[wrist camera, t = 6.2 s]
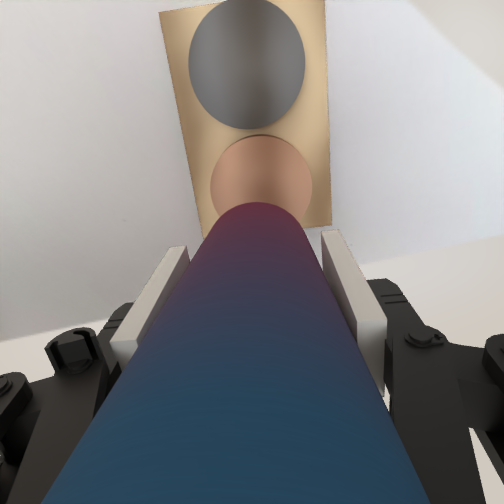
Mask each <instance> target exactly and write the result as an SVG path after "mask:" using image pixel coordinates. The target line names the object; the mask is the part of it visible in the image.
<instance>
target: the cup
mask: <svg viewBox="0 0 504 504" xmlns="http://www.w3.org/2000/svg"><path fill="white" fill-rule="evenodd" d="M41 504H431V503H430V501H429V499H428V497H427V495H426V492H425V490H424V488H423V486H422V484H421V482H420V480H419V477H418V475H417V473H416V471H415V469H414V467H413V465H412V462H411V460H410V458H409V456H408V454H407V452H406V450H405V448H404V445H403V443H402V441H401V439H400V437H399V435H398V433H397V430H396V428H395V426H394V422H393V420H392V418H391V415H390V413H389V411H388V409H387V407H386V405H385V403H384V400H383V398H382V396H381V394H380V392H379V390H378V388H377V386H376V383H375V381H374V379H373V377H372V375H371V373H370V371H369V369H368V366H367V364H366V362H365V360H364V358H363V356H362V354H361V351H360V349H359V347H358V345H357V343H356V341H355V339H354V337H353V334H352V332H351V330H350V328H349V326H348V324H347V322H346V320H345V317H344V315H343V313H342V311H341V309H340V307H339V305H338V302H337V300H336V298H335V296H334V294H333V292H332V290H331V288H330V285H329V283H328V281H327V279H326V277H325V275H324V273H323V271H322V268H321V266H320V264H319V262H318V260H317V258H316V256H315V253H314V251H313V249H312V247H311V245H310V243H309V241H308V239H307V236H306V234H305V232H304V230H303V228H302V227H301V225H300V223H299V222H298V221H297V220H296V218H295V217H294V216H293V215H291V214H290V213H289V212H288V211H286V210H285V209H283V208H281V207H279V206H277V205H273V204H270V203H264V202H250V203H244V204H241V205H238V206H235V207H233V208H231V209H230V210H228V211H226V212H225V213H224V214H223V215H222V216H220V217H219V219H218V220H217V221H216V222H215V224H214V225H213V227H212V228H211V230H210V232H209V233H208V235H207V236H206V238H205V240H204V241H203V243H202V244H201V246H200V248H199V249H198V251H197V252H196V254H195V256H194V257H193V259H192V261H191V262H190V264H189V265H188V267H187V269H186V270H185V272H184V273H183V275H182V277H181V278H180V280H179V281H178V283H177V285H176V286H175V288H174V290H173V291H172V293H171V294H170V296H169V298H168V299H167V301H166V302H165V304H164V306H163V307H162V309H161V310H160V312H159V314H158V315H157V317H156V319H155V320H154V322H153V323H152V325H151V327H150V328H149V330H148V331H147V333H146V335H145V336H144V338H143V339H142V341H141V343H140V344H139V346H138V348H137V349H136V351H135V352H134V354H133V356H132V357H131V359H130V360H129V362H128V364H127V365H126V367H125V368H124V370H123V372H122V373H121V375H120V377H119V378H118V380H117V381H116V383H115V385H114V386H113V388H112V389H111V391H110V393H109V394H108V396H107V397H106V399H105V401H104V402H103V404H102V406H101V407H100V409H99V410H98V412H97V414H96V415H95V417H94V418H93V420H92V422H91V423H90V425H89V426H88V428H87V430H86V431H85V433H84V435H83V436H82V438H81V439H80V441H79V443H78V444H77V446H76V447H75V449H74V451H73V452H72V454H71V455H70V457H69V459H68V460H67V462H66V464H65V465H64V467H63V468H62V470H61V472H60V473H59V475H58V476H57V478H56V480H55V481H54V483H53V484H52V486H51V488H50V489H49V491H48V493H47V494H46V496H45V497H44V499H43V501H42V502H41Z"/></svg>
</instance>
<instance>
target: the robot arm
mask: <svg viewBox="0 0 504 504" xmlns="http://www.w3.org/2000/svg"><path fill="white" fill-rule="evenodd" d="M321 243H322V264H323V273H324V275H325V277H326V279H327V281H328V283H329V285H330V288H331V290H332V292H333V294H334V296H335V298H336V300H337V302H338V305H339V307H340V309H341V311H342V313H343V315H344V317H345V320H346V322H347V324H348V326H349V328H350V330H351V332H352V334H353V337H354V339H355V341H356V343H357V345H358V347H359V349H360V351H361V354H362V356H363V358H364V360H365V362H366V364H367V366H368V369H369V371H370V373H371V375H372V377H373V379H374V381H375V383H376V386H377V388H378V390H379V392H380V394H381V396H382V397H384V392H385V391H384V390H385V384H386V387H387V389H388V392H389V394H390V405H389V413H390V415H391V418H392V420H393V422H394V426H395V428H396V430H397V433H398V435H399V437H400V439H401V441H402V443H403V445H404V448H405V450H406V452H407V454H408V456H409V458H410V460H411V462H412V465H413V467H414V469H415V471H416V473H417V475H418V477H419V480H420V482H421V484H422V486H423V488H424V490H425V492H426V495H427V497H428V499H429V501H430V503H431V504H486V501H485V497H484V493H483V488H482V484H481V480H480V475H479V471H478V467H477V462H476V458H475V454H474V449H473V445H472V441H471V436H470V432H469V428H473V429H474V431H475V433H476V434H477V436H478V438H479V440H480V442H481V444H482V445H483V447H484V449H485V451H486V453H487V455H488V457H489V458H490V460H491V462H492V464H493V466H494V468H495V469H496V471H497V473H498V475H499V477H500V478H501V480H502V482H503V484H504V334H499V335H493V336H491V337H490V338H488V339H487V340H486V344H485V348H478V347H471V346H464V345H458V344H453V343H450V342H448V340H447V338H446V336H445V335H444V334H442V333H441V332H440V331H439V330H437V329H434V328H432V327H430V326H426V325H425V324H424V323H423V322H422V320H421V319H420V317H419V316H418V314H417V313H416V312H415V310H414V309H413V307H412V306H411V304H410V303H409V302H408V300H407V299H406V297H405V296H404V295H403V293H402V292H401V290H400V288H399V287H398V286H397V285H396V284H395V283H393V282H391V281H390V280H388V279H386V278H385V279H374V280H366V279H365V277H364V275H363V274H362V272H361V270H360V268H359V266H358V264H357V263H356V261H355V259H354V257H353V255H352V253H351V251H350V250H349V248H348V246H347V244H346V242H345V240H344V239H343V237H342V235H341V233H340V231H339V230H330V231H321ZM189 264H190V260H189V255H188V251H187V246H177V247H170V248H169V249H168V251H167V253H166V254H165V256H164V257H163V259H162V260H161V262H160V263H159V265H158V267H157V268H156V270H155V271H154V273H153V274H152V276H151V278H150V279H149V281H148V282H147V284H146V285H145V287H144V289H143V290H142V292H141V293H140V295H139V296H138V298H137V299H136V301H135V302H133V303H125V304H124V305H122V306H121V307H120V308H118V309H117V310H116V311H114V313H113V314H112V316H111V317H110V319H109V320H108V322H107V323H106V324H105V326H104V327H103V329H102V330H101V331H100V333H99V334H98V336H96V334H95V331H94V330H92V329H91V328H85V327H82V328H75V329H72V330H69V331H66V332H64V333H62V334H60V335H58V336H56V337H55V338H54V339H53V340H51V341H50V342H49V343H48V344H47V346H46V347H45V348H44V349H45V351H46V353H47V355H48V357H49V360H50V362H51V364H52V366H53V368H54V370H55V374H54V376H52V377H49V378H46V379H42V380H39V381H35V382H32V383H29V382H28V380H27V378H26V376H25V375H24V374H22V373H21V372H11V373H8V374H3V375H0V455H1V456H0V504H41V502H42V501H43V499H44V497H45V496H46V494H47V493H48V491H49V489H50V488H51V486H52V484H53V483H54V481H55V480H56V478H57V476H58V475H59V473H60V472H61V470H62V468H63V467H64V465H65V464H66V462H67V460H68V459H69V457H70V455H71V454H72V452H73V451H74V449H75V447H76V446H77V444H78V443H79V441H80V439H81V438H82V436H83V435H84V433H85V431H86V430H87V428H88V426H89V425H90V423H91V422H92V420H93V418H94V417H95V415H96V414H97V412H98V410H99V409H100V407H101V406H102V404H103V402H104V401H105V399H106V397H107V396H108V394H109V393H110V391H111V389H112V388H113V386H114V385H115V383H116V381H117V380H118V378H119V377H120V375H121V373H122V372H123V370H124V368H125V367H126V365H127V364H128V362H129V360H130V359H131V357H132V356H133V354H134V352H135V351H136V349H137V348H138V346H139V344H140V343H141V341H142V339H143V338H144V336H145V335H146V333H147V331H148V330H149V328H150V327H151V325H152V323H153V322H154V320H155V319H156V317H157V315H158V314H159V312H160V310H161V309H162V307H163V306H164V304H165V302H166V301H167V299H168V298H169V296H170V294H171V293H172V291H173V290H174V288H175V286H176V285H177V283H178V281H179V280H180V278H181V277H182V275H183V273H184V272H185V270H186V269H187V267H188V265H189ZM468 427H469V428H468Z"/></svg>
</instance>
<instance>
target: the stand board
mask: <svg viewBox="0 0 504 504" xmlns="http://www.w3.org/2000/svg"><path fill="white" fill-rule="evenodd" d="M159 17H160V22H161V28H162V33H163V38H164V43H165V48H166V53H167V58H168V63H169V68H170V73H171V78H172V83H173V88H174V93H175V98H176V103H177V108H178V113H179V118H180V124H181V129H182V134H183V139H184V144H185V149H186V154H187V159H188V164H189V169H190V174H191V179H192V184H193V189H194V194H195V199H196V204H197V209H198V214H199V219H200V225H201V230H202V235H203V239H205V238H206V236H207V235H208V233H209V232H210V230H211V228H212V227H213V225H214V224H215V222H216V221H217V220H218V219H219V217H220V216H222V215H223V214H224V213H225V212H226V211H228V210H230V209H231V208H233V207H235V206H238V205H241V204H244V203H250V202H264V203H270V204H273V205H277V206H279V207H281V208H283V209H285V210H286V211H288V212H289V213H290V214H291V215H293V216H294V217H295V218H296V220H297V221H298V222H299V223H300V225H301V227H302V228H312V227H321V226H330V225H332V213H331V183H330V153H329V123H328V94H327V64H326V34H325V4H324V0H227V1H224V2H220V3H213V4H207V5H201V6H195V7H189V8H183V9H176V10H170V11H164V12H159Z"/></svg>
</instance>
